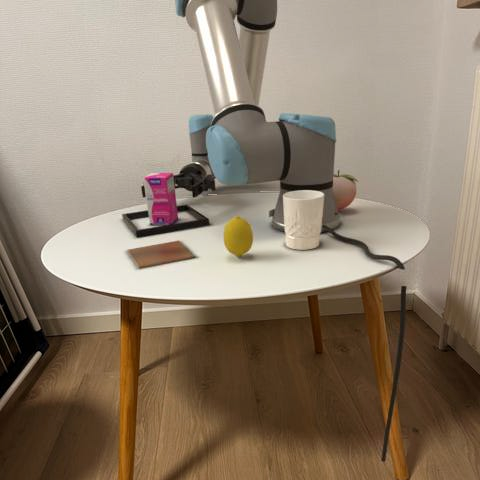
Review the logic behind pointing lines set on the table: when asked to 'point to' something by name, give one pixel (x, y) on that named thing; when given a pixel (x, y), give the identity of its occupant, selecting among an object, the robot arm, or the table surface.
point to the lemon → (238, 236)
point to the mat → (160, 254)
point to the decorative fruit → (344, 190)
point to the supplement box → (161, 198)
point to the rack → (166, 228)
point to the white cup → (303, 218)
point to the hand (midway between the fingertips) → (167, 192)
